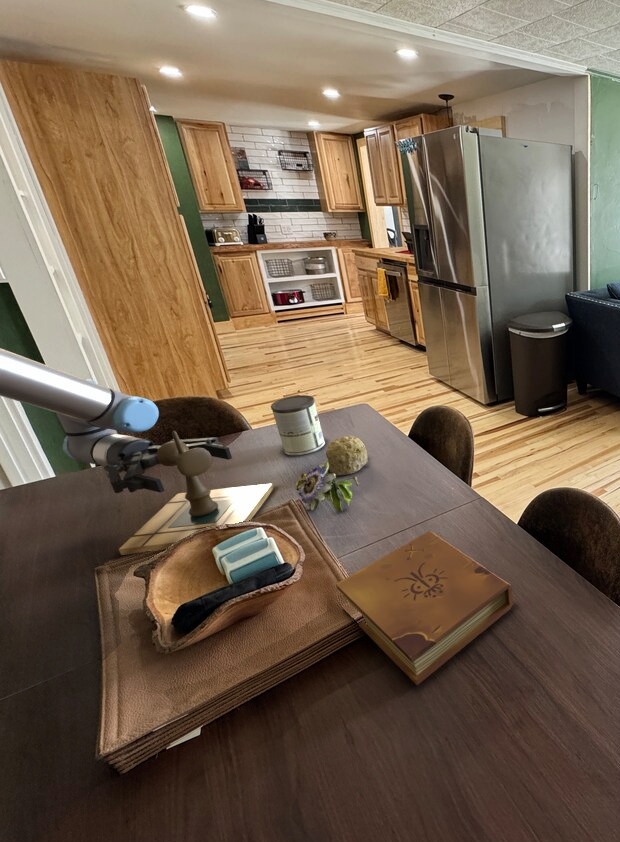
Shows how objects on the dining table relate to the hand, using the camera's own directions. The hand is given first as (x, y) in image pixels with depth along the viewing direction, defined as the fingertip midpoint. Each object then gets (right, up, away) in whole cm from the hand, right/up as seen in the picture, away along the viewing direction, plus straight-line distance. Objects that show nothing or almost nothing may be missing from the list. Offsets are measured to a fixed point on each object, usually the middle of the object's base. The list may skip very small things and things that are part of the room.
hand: (196, 468), depth 99 cm
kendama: (-3, -11, +6) cm, 12 cm away
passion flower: (+21, -10, +12) cm, 26 cm away
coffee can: (0, +1, +37) cm, 37 cm away
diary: (+55, -22, -17) cm, 61 cm away
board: (-3, -12, +6) cm, 14 cm away
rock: (+17, -3, +27) cm, 33 cm away
